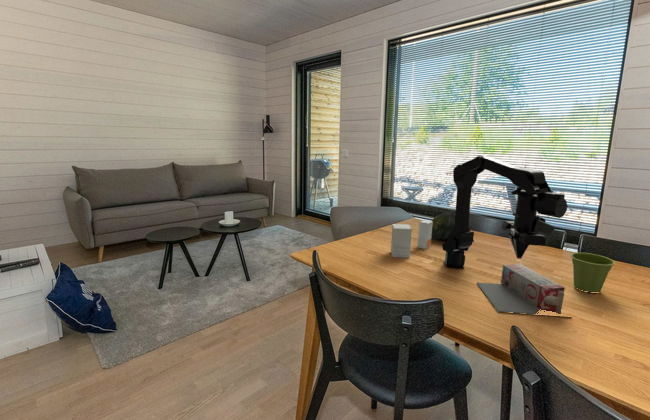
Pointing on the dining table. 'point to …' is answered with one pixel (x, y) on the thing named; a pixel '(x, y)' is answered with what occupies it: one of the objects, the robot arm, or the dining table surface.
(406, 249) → the supplement box
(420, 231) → the skincare box
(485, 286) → the mat
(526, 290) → the juice carton
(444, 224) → the squash
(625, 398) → the dining table surface
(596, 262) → the plant pot
